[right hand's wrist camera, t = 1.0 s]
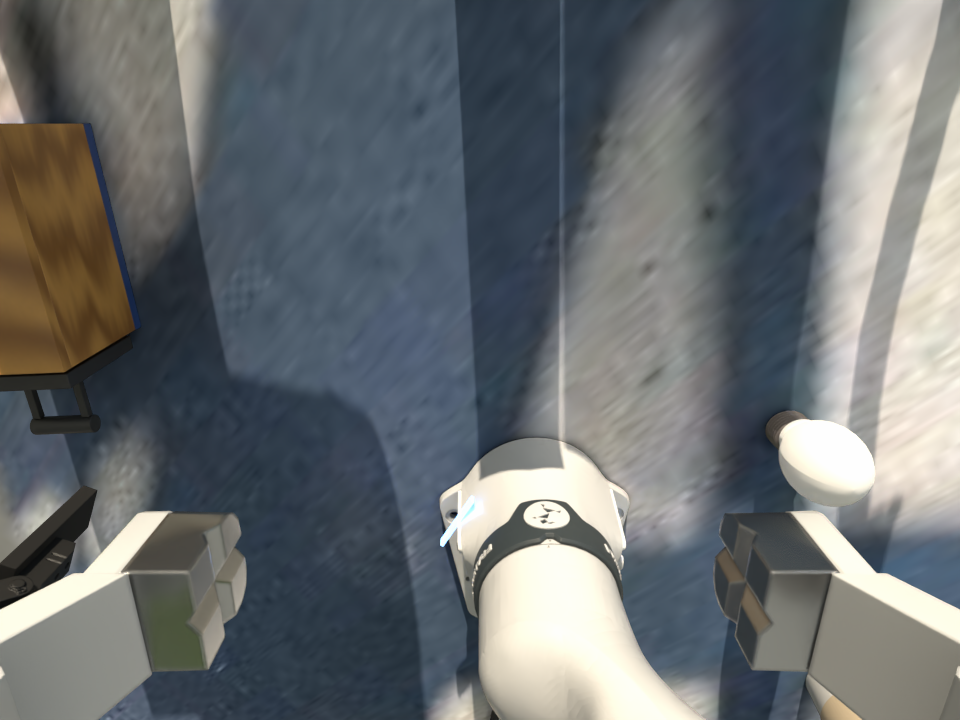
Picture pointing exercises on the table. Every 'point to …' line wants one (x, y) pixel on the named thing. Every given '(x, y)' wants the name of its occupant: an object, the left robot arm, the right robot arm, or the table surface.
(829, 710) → the coffee cup
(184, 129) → the table surface
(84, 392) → the drawer
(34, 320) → the cabinet
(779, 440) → the light bulb
